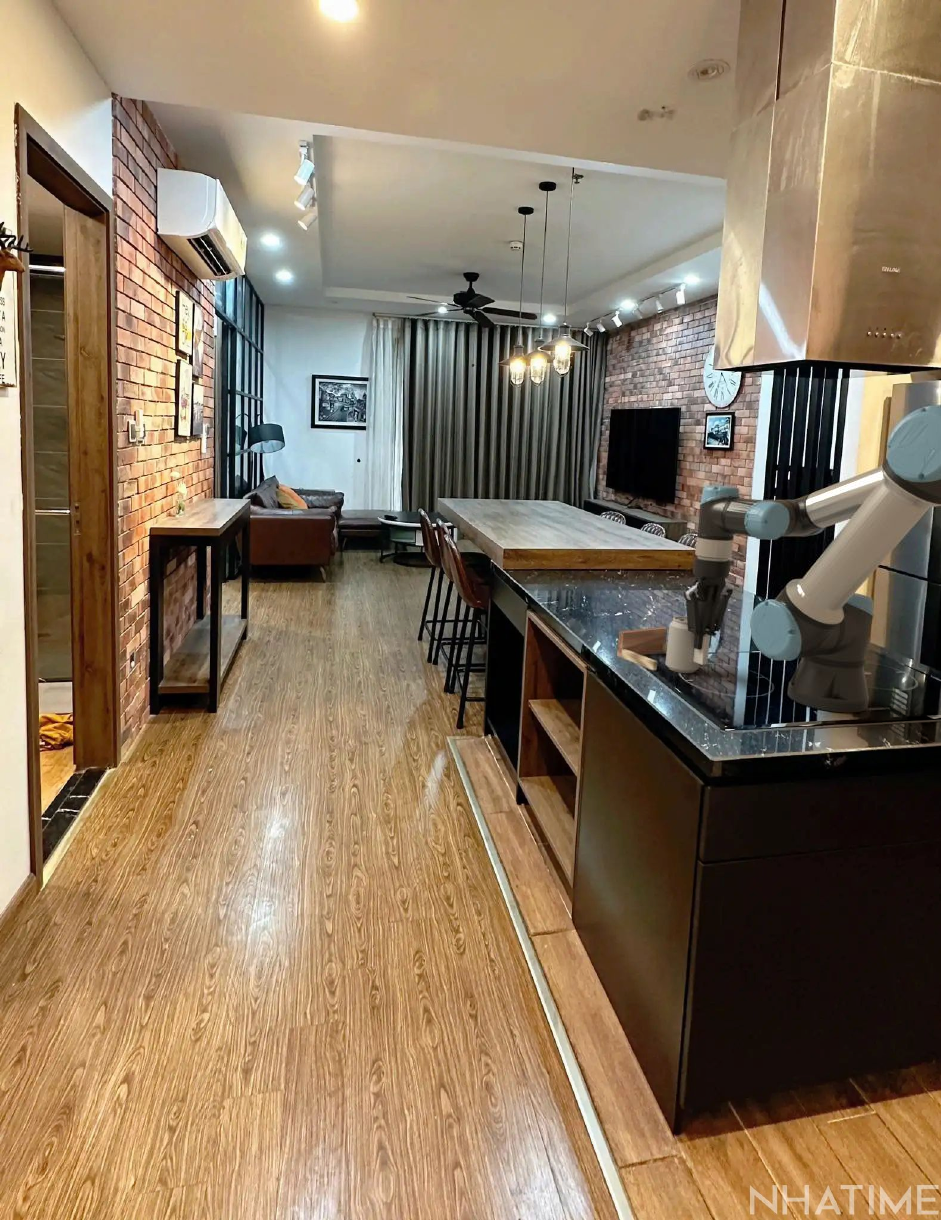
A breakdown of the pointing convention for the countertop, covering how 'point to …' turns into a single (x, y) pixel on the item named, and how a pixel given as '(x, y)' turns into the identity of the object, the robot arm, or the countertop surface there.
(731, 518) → the robot arm
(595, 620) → the countertop surface
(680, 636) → the can
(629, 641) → the wooden bracket
